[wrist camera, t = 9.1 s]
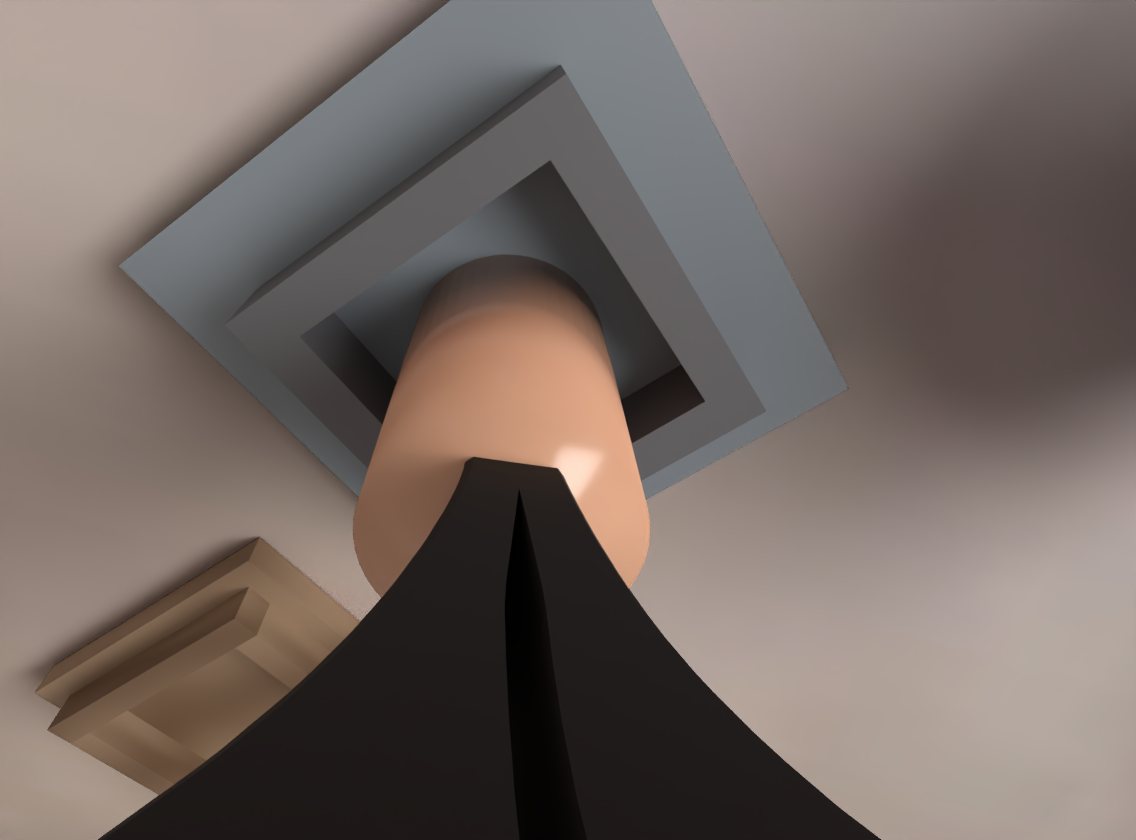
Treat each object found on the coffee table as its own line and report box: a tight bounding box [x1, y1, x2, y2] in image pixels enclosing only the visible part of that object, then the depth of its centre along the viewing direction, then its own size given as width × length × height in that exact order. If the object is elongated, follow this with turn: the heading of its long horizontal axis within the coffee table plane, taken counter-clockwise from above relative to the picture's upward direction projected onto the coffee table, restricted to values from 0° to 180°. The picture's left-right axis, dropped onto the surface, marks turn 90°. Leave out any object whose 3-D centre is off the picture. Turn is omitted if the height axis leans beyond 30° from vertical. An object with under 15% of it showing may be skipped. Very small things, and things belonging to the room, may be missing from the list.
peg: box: [353, 254, 650, 598], centre depth 14 cm, size 4×4×7 cm
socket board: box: [119, 0, 849, 499], centre depth 16 cm, size 12×12×3 cm
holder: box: [35, 538, 360, 795], centre depth 23 cm, size 9×9×2 cm
